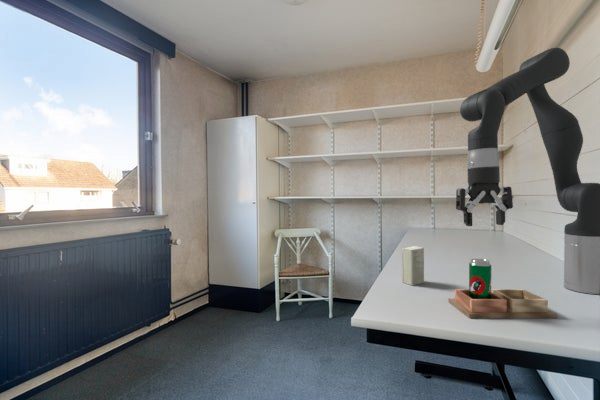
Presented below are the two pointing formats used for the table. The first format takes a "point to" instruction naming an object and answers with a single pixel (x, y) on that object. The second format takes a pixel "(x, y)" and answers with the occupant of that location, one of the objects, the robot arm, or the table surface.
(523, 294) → the can rack
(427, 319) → the table surface
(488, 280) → the soda can
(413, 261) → the skincare box
